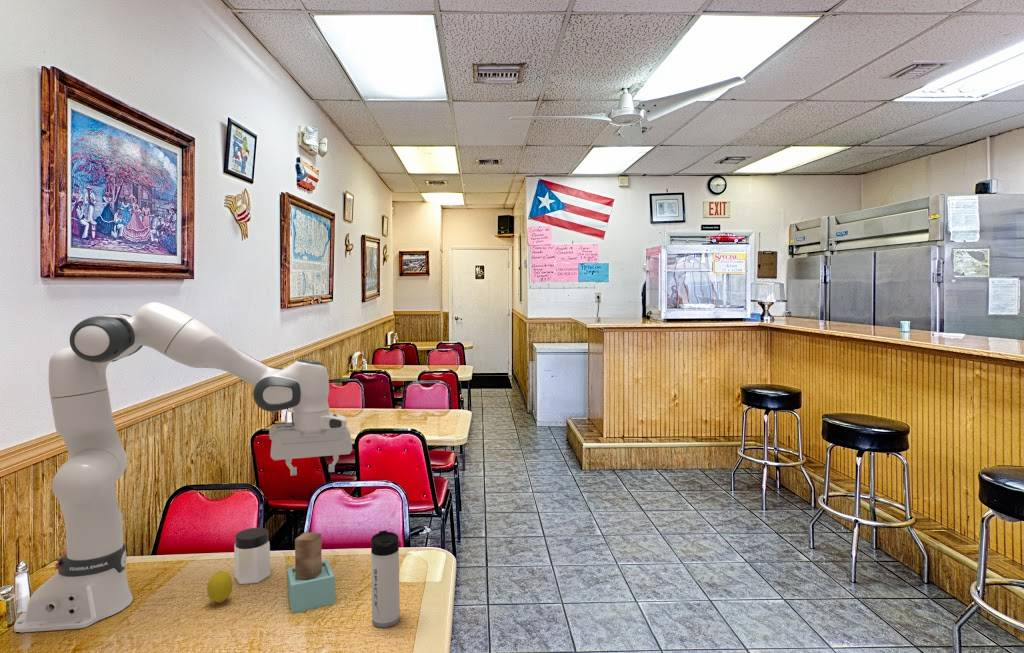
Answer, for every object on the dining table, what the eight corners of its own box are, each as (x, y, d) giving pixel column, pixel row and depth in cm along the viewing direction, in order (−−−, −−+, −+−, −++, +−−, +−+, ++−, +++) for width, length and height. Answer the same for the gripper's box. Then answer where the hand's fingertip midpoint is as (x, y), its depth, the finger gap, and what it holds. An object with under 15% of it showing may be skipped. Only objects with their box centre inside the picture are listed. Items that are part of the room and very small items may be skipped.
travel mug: (397, 610, 137) (395, 528, 136) (401, 624, 130) (400, 539, 130) (370, 615, 134) (369, 532, 133) (374, 630, 128) (372, 543, 127)
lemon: (205, 610, 137) (204, 577, 137) (210, 599, 142) (209, 567, 142) (230, 606, 139) (229, 574, 138) (234, 595, 144) (233, 564, 144)
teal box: (291, 614, 136) (291, 585, 135) (287, 595, 144) (287, 568, 144) (335, 604, 140) (334, 576, 140) (328, 586, 149) (328, 559, 149)
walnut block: (295, 579, 140) (295, 539, 140) (305, 571, 145) (305, 532, 144) (312, 580, 139) (311, 540, 139) (321, 572, 144) (321, 533, 144)
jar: (273, 578, 153) (272, 534, 152) (241, 588, 148) (240, 542, 147) (263, 566, 160) (262, 524, 159) (232, 575, 155) (231, 532, 154)
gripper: (267, 426, 143) (268, 480, 144) (352, 420, 149) (352, 472, 150) (270, 421, 149) (271, 473, 150) (351, 416, 155) (351, 466, 156)
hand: (312, 473), depth 150 cm, fingers open, 8 cm apart
